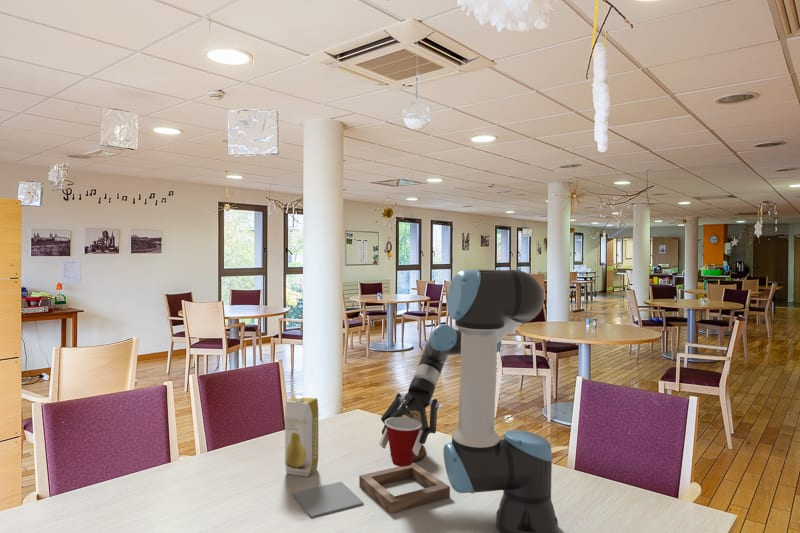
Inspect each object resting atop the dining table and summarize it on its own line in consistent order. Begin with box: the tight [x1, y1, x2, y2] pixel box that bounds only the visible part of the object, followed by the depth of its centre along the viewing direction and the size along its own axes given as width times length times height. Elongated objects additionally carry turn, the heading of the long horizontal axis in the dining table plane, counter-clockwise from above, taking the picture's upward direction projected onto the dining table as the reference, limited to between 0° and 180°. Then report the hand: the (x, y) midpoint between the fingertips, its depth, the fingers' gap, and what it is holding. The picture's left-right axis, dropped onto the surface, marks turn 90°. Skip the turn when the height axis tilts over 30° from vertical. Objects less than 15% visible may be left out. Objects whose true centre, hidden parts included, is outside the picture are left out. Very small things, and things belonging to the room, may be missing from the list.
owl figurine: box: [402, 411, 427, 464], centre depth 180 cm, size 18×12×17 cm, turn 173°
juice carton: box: [284, 395, 319, 478], centre depth 164 cm, size 9×8×24 cm
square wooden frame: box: [358, 462, 451, 514], centre depth 151 cm, size 19×19×3 cm
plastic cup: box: [384, 417, 422, 467], centre depth 152 cm, size 11×11×12 cm
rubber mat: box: [291, 481, 365, 518], centre depth 146 cm, size 15×15×1 cm
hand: (398, 449), depth 149 cm, fingers closed on plastic cup, 10 cm apart
